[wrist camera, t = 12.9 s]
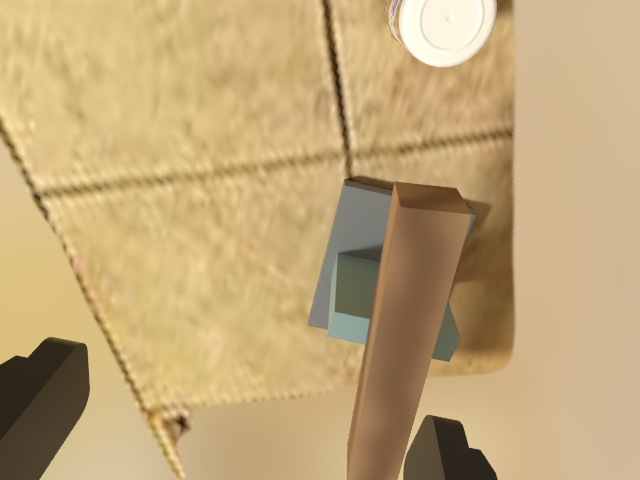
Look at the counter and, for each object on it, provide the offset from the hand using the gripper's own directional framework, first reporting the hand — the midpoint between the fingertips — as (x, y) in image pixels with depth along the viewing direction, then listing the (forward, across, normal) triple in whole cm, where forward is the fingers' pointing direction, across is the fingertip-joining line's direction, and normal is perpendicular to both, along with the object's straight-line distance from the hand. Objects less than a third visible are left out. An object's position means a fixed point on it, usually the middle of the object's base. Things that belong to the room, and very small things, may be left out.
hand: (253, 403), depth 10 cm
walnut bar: (+20, -9, +13) cm, 25 cm away
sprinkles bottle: (+30, -5, -9) cm, 32 cm away
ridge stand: (+30, -9, +13) cm, 34 cm away
